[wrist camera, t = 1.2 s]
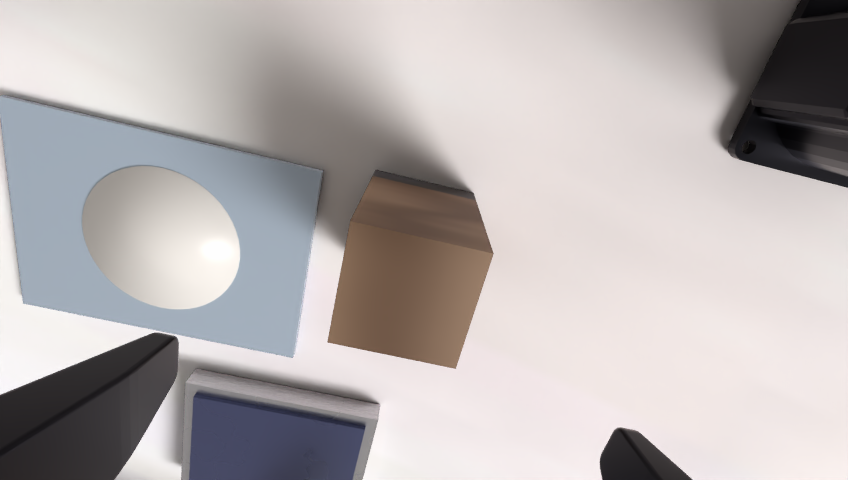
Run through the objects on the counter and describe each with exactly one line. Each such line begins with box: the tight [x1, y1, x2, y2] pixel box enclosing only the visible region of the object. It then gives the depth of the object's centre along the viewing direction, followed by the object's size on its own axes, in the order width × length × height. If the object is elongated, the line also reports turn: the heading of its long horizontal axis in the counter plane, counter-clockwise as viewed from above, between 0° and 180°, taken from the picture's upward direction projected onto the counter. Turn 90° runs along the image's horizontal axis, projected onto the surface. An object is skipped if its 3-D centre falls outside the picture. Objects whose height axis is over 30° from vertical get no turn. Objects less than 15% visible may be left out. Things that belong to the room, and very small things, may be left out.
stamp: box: [328, 170, 493, 369], centre depth 15 cm, size 4×4×6 cm
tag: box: [0, 95, 323, 358], centre depth 18 cm, size 12×9×1 cm
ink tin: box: [181, 369, 380, 480], centre depth 22 cm, size 9×7×1 cm
